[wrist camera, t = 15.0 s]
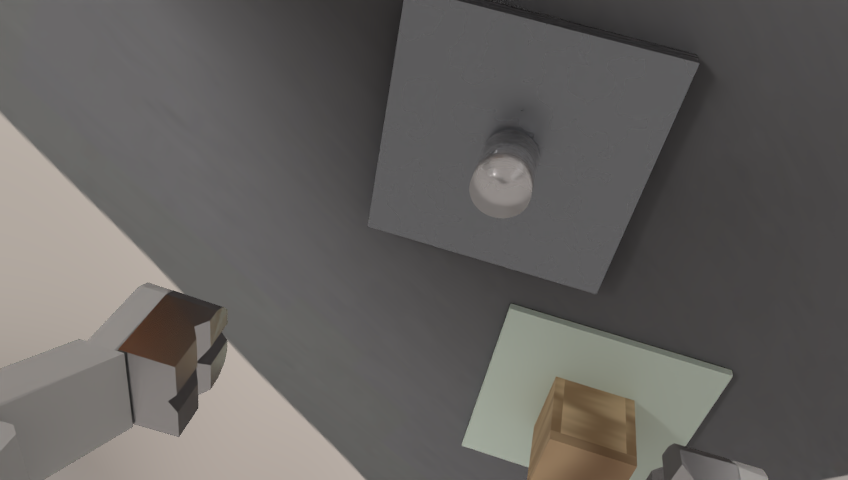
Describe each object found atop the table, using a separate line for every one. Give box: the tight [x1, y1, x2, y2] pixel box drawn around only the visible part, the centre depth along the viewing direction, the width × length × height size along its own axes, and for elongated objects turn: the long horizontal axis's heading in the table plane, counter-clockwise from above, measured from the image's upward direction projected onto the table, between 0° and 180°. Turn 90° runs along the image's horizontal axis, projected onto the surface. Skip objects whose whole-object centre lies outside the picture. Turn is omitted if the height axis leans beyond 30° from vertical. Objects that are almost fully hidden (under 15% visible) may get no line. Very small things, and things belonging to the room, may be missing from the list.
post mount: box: [367, 0, 700, 294], centre depth 37 cm, size 16×16×6 cm
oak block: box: [527, 377, 637, 480], centre depth 47 cm, size 6×6×6 cm
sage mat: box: [462, 304, 733, 480], centre depth 50 cm, size 16×16×1 cm
